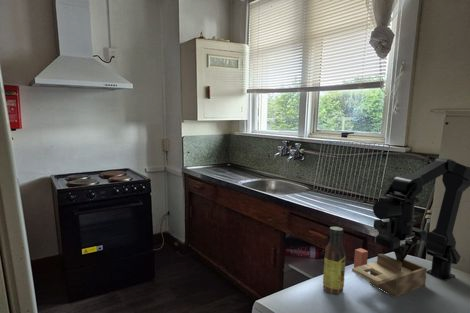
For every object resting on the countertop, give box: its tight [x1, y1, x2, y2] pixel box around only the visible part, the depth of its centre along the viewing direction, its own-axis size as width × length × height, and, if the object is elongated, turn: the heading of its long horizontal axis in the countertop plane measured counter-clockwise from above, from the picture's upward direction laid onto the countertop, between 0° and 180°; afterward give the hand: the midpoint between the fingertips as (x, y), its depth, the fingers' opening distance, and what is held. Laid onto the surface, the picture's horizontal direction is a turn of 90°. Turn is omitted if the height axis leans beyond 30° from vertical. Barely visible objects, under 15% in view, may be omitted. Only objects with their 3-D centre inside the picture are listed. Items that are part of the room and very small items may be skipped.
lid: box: [351, 253, 411, 285], centre depth 95 cm, size 16×9×4 cm, turn 118°
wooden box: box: [368, 258, 428, 298], centre depth 99 cm, size 16×9×6 cm, turn 118°
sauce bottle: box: [322, 226, 346, 295], centre depth 94 cm, size 7×6×20 cm
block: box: [353, 247, 369, 268], centre depth 108 cm, size 3×3×8 cm
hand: (399, 262), depth 99 cm, fingers closed
